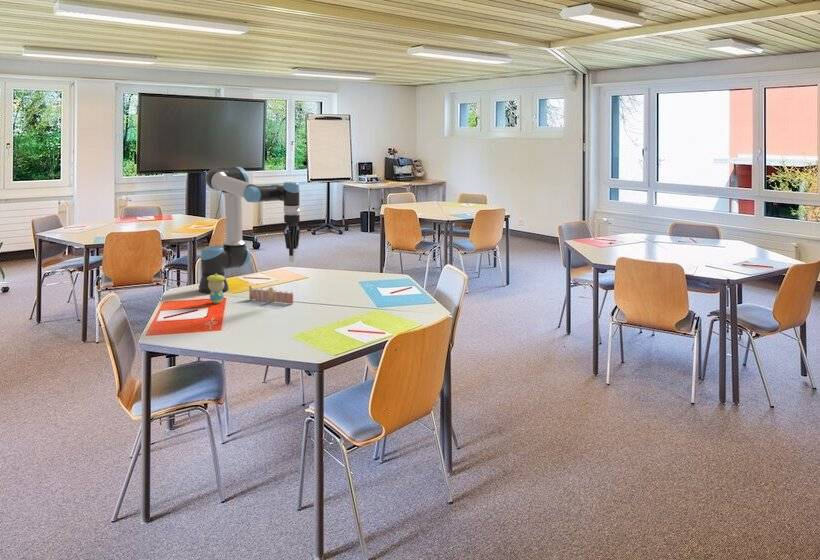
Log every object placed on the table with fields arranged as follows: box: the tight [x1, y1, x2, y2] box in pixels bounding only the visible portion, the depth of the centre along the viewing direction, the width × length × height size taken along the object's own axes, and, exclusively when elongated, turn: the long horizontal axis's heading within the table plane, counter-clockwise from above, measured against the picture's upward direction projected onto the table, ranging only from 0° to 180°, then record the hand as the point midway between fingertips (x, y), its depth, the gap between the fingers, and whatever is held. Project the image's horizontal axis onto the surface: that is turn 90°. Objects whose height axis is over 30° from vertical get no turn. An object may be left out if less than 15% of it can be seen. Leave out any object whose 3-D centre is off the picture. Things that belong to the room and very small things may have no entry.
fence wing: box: [274, 289, 294, 305], centre depth 327 cm, size 10×1×6 cm, turn 70°
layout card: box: [242, 299, 290, 310], centre depth 327 cm, size 20×14×1 cm
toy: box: [207, 274, 226, 305], centre depth 325 cm, size 8×9×15 cm
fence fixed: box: [248, 285, 275, 303], centre depth 332 cm, size 14×2×8 cm, turn 70°
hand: (292, 261), depth 328 cm, fingers closed
